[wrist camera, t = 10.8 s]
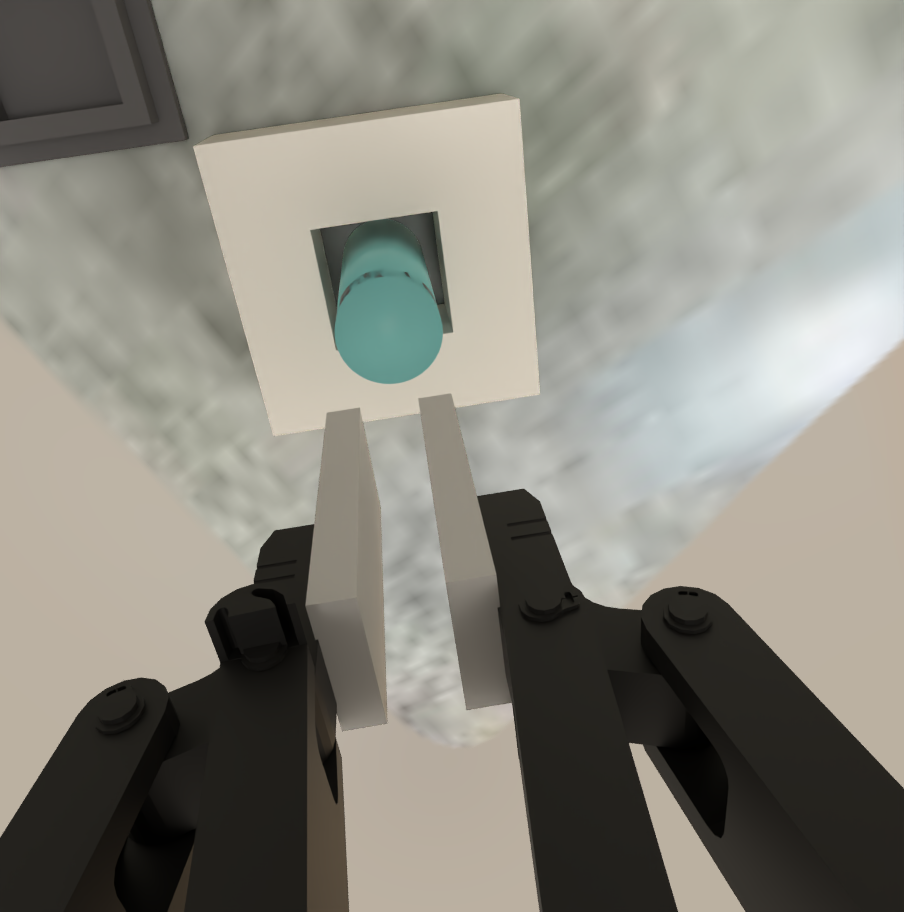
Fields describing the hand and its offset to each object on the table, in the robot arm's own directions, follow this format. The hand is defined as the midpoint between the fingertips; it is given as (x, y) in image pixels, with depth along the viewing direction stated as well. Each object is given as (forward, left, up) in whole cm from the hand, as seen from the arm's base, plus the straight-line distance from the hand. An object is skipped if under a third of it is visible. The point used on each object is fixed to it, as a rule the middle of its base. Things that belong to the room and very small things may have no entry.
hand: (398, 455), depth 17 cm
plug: (0, 0, -18) cm, 18 cm away
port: (0, 0, -18) cm, 18 cm away
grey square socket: (-10, -11, -18) cm, 24 cm away
